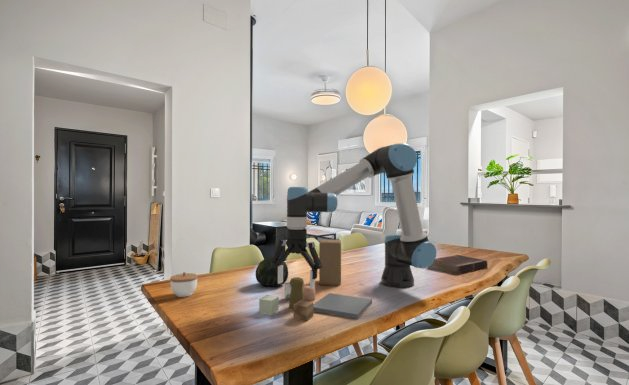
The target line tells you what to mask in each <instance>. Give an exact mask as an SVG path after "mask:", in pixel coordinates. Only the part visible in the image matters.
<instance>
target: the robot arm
mask: <svg viewBox="0 0 629 385" xmlns="http://www.w3.org/2000/svg"><path fill="white" fill-rule="evenodd" d="M417 162H418V155H417V152H416V150H415V149H414V148H413V147H412V146H411V145H410V144H408V143H404V142H399V143H398V142H397V143H394V144H390V145H386V146H382V147H379V148H377V149H375V150H373V151H371V152H370V153H369V154H367V155H365V156H364V157H362V158H360V160H359V162H358V163H356V164H355V165H353V166H351V167H349V168H347V169H346V170H344V171H342V172H341V173H339V174H337V175H336V176H334V177H333V178H330V179H328V180H327V181H325V182H323V183H322V184H320V185H318V186H317V187H315V188H313V189H311V190H308V188H307V187H306V186H290V187H288V189H287V192H286V193H287V194H286V228H287V229H286V240H285V239H281V240H279V241H278V246H277V248H276V251H275V252H274V254H273V255H274V257H273V260H272V264H275V265H276V274H278V284H280V283H282V282H283V265H281V264H282V263H283V262H285V261H286V259H287V258H288V257H289V256H290V254H297V255H301V256H302V257H303V258H304V260H305V261H306V263H307V265H308V266H309V267H310V268H311V269H310V270H309V286H310V289H312V288H314V287H315V288H316V279H317V278H318V270H319V269H320V268H322V264H321V262H320V259H319V255H318V253H317V250H316V246H315V245H316V243H315V242H314V241H311V242H308V241H307V239H308V238H307V237H308V235H307V234H308V233H307V232H308V230H307V227H308V213H333V212H335V211H336V210H337V208H338V197H337V196H339V195H340V194H342V193H343V192H345V191H347V190H349V189H350V188H352V187H354V186H356V185H357V184H358V183H361V182H362V181H364V180H365V179H368V178H369V179H371V178H373V177H375V176H377V175H380V174H385V176H386V179H387V180H388V181H390V182H391V187H392V191H393V197H394V201H395V206H396V211H397V215H398V218H399V224H400V229H401V233H402V234H387V235H386V236H385V238H384V268H383V271H382V274H381V277H380V279H381V280H380V283H381V284H382V285H384V286H388V287H393V288H409V287H412V286H414V285H415V279H414V278H415V277H414V275H413V272H412V269H411V267H414V268H416V269H423V270H424V269H428V268H427V267H429V266H431V265H432V264H433V262H434V260H435V259H436V257H437V248H436V246H435V244H433V243H432V242H431V241H429V237H428V233H426V231H423V230H424V229H423V225H422V221H421V216H420V212H419V206H418V202H417V198H416V191H415V187H414V184H413V178H412V177H413V176H414V174H415V169H414V168H415V167H416V166H417ZM285 246H286V247H287V248H286V249H285ZM307 248H308V249H307ZM284 249H285V250H284ZM308 250H309V251H308ZM283 251H284V252H283ZM282 253H283V254H282ZM309 253H310V254H309ZM279 257H280V259H279Z"/></svg>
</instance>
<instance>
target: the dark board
mask: <svg viewBox="0 0 629 385" xmlns="http://www.w3.org/2000/svg"><path fill="white" fill-rule="evenodd" d="M372 304H373V299H372V298H366V297H359V296H352V295H346V294H338V293H331V292H329V293H327V294H326V295H324V296H323V297H322V298H320V299H319V300H317V301H315V302H313V313H314V312H315V313H319V314H320V313H321V314H325V315H326V314H327V315H332V316H339V317H343V318H344V317H345V318H350V319H356V320H358V319H359V318H360V317H361V316H362V315H363V314H364V312H366V311H367V309H368V308H369V307H370V306H371V305H372Z"/></svg>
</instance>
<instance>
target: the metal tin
mask: <svg viewBox="0 0 629 385" xmlns="http://www.w3.org/2000/svg"><path fill="white" fill-rule="evenodd" d="M290 294H291V286H290V281H288V282H285V283H284V300H286V301H288V302H289V301H290Z"/></svg>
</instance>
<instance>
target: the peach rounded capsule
mask: <svg viewBox="0 0 629 385" xmlns="http://www.w3.org/2000/svg"><path fill="white" fill-rule="evenodd" d="M302 289H303V296H304V301H308V302H315V301H316V286H315V287H314V288H312V289H310V285H303V286H302ZM314 300H315V301H314Z"/></svg>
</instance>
